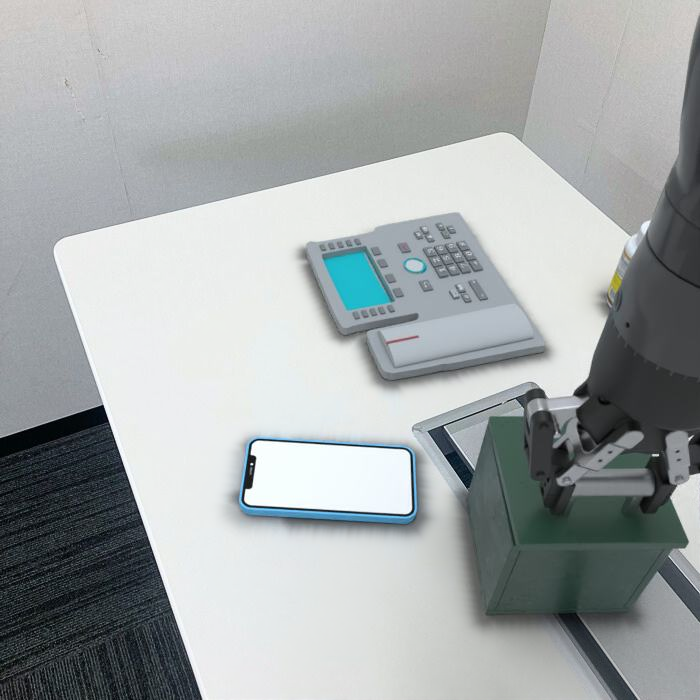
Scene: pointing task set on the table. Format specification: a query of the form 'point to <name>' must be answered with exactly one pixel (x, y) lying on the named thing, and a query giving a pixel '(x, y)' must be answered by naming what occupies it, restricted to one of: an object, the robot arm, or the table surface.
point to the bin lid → (583, 502)
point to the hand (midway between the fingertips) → (599, 502)
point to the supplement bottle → (625, 261)
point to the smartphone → (329, 480)
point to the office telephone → (422, 297)
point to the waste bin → (546, 560)
